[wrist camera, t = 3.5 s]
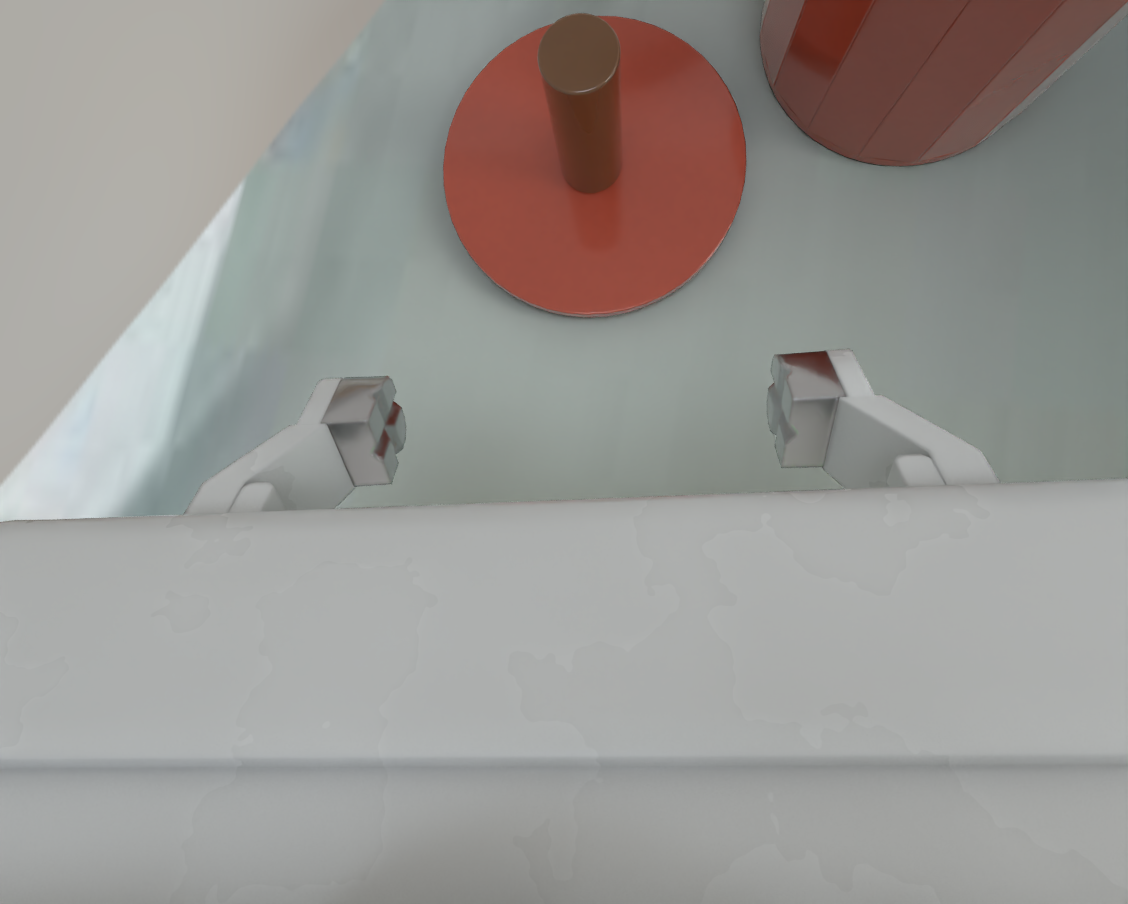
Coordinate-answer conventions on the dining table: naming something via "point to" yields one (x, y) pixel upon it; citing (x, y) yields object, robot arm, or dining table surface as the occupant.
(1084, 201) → the dining table surface
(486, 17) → the dining table surface
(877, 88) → the pot
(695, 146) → the lid
